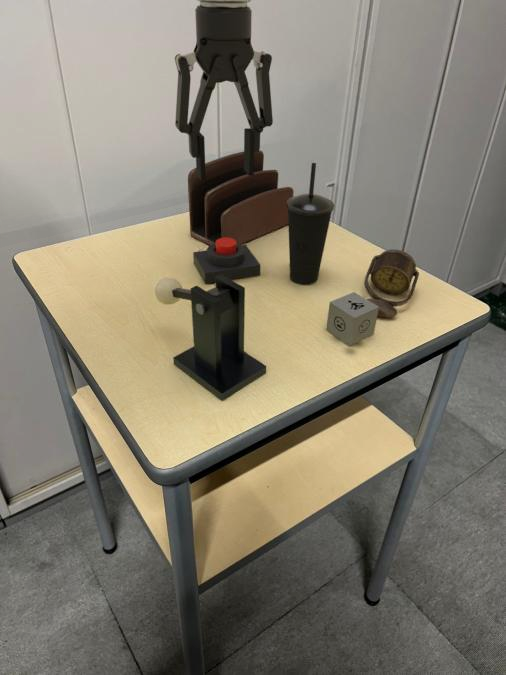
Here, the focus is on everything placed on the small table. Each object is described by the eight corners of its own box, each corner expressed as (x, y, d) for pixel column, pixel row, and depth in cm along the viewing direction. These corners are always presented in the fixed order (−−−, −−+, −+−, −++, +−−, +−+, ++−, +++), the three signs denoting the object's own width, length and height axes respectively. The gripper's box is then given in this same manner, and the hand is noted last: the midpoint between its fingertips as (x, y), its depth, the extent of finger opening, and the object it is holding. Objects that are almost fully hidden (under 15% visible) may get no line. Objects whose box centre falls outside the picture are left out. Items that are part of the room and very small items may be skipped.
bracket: (173, 364, 71) (166, 283, 63) (217, 340, 76) (215, 262, 68) (222, 401, 65) (220, 317, 58) (266, 372, 70) (270, 292, 62)
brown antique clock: (443, 267, 83) (393, 235, 88) (404, 290, 75) (351, 253, 79) (423, 301, 88) (376, 269, 92) (384, 326, 80) (335, 290, 84)
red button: (219, 257, 88) (219, 247, 87) (213, 247, 91) (213, 238, 90) (239, 254, 89) (239, 245, 88) (232, 245, 92) (232, 236, 91)
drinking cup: (283, 265, 94) (290, 154, 82) (326, 269, 93) (339, 157, 81) (279, 287, 88) (286, 170, 76) (324, 291, 87) (339, 173, 75)
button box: (205, 284, 88) (204, 263, 86) (193, 263, 94) (192, 242, 92) (260, 275, 91) (260, 255, 88) (245, 255, 97) (245, 235, 94)
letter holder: (189, 236, 103) (185, 165, 94) (259, 209, 114) (261, 144, 106) (223, 253, 97) (221, 179, 89) (293, 223, 109) (297, 155, 100)
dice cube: (349, 346, 75) (354, 318, 72) (326, 329, 78) (329, 302, 75) (373, 334, 77) (379, 306, 74) (349, 319, 81) (353, 291, 78)
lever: (153, 306, 73) (146, 281, 71) (175, 297, 75) (168, 272, 73) (217, 321, 62) (209, 292, 61) (239, 310, 65) (233, 281, 63)
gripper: (282, 1, 74) (275, 162, 88) (142, 2, 69) (157, 173, 82) (304, 6, 69) (292, 176, 82) (153, 7, 63) (167, 189, 77)
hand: (225, 174), depth 82 cm, fingers open, 7 cm apart
